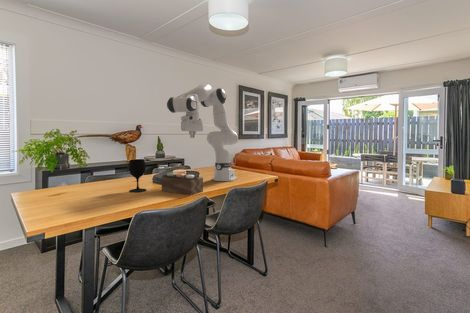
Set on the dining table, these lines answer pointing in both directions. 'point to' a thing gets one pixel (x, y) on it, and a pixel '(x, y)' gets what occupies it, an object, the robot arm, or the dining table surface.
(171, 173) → the sage button
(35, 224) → the dining table surface
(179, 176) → the terracotta button
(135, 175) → the wine glass
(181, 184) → the dark brown wooden box
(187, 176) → the cream button
